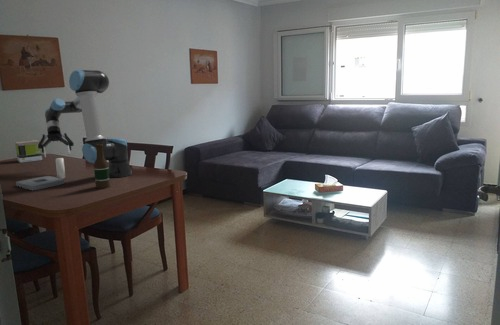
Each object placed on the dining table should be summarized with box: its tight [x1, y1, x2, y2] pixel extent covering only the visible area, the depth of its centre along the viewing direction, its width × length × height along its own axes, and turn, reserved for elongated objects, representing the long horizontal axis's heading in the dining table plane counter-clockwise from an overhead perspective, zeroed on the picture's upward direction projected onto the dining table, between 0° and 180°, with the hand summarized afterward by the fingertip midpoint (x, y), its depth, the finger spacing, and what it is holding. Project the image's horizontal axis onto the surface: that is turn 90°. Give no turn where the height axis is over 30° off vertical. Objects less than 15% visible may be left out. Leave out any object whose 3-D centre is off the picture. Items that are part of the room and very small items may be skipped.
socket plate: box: [15, 175, 66, 191], centre depth 219 cm, size 18×18×2 cm
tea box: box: [15, 139, 43, 163], centre depth 291 cm, size 15×10×15 cm
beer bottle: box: [93, 144, 111, 190], centre depth 211 cm, size 8×8×24 cm
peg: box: [55, 157, 66, 179], centre depth 235 cm, size 4×4×12 cm
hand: (57, 155), depth 240 cm, fingers open, 13 cm apart
